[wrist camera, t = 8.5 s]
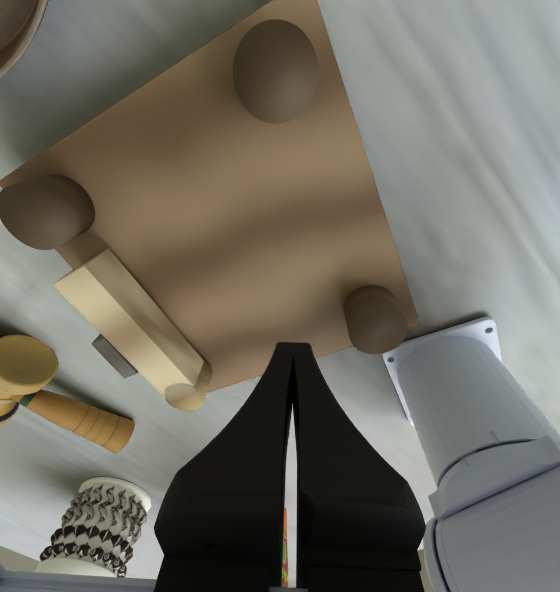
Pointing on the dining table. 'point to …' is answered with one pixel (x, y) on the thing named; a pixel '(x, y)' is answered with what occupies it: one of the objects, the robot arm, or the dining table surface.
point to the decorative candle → (98, 530)
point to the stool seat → (230, 201)
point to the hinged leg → (137, 329)
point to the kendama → (52, 395)
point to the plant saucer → (18, 29)
